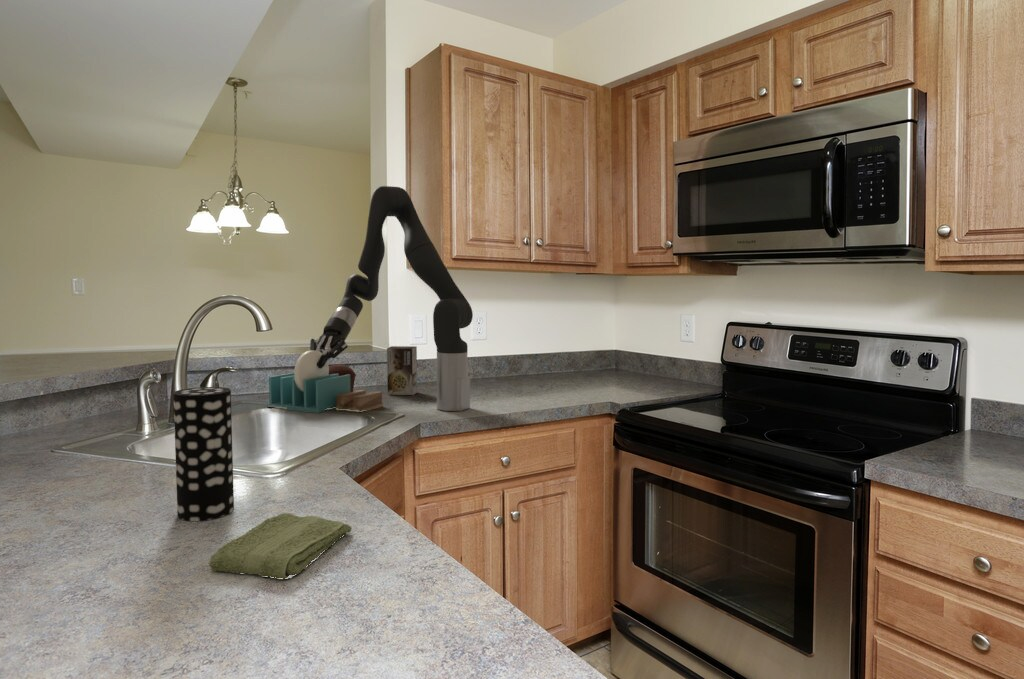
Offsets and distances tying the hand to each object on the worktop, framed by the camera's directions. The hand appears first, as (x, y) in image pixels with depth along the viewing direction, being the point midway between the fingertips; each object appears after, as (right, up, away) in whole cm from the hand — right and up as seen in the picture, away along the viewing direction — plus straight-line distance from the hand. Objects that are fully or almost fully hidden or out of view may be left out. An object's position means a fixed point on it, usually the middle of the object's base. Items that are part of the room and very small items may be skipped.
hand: (315, 366), depth 194 cm
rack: (-2, -12, +2) cm, 12 cm away
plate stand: (+14, -13, -1) cm, 19 cm away
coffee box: (+22, -11, +25) cm, 35 cm away
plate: (-1, -2, -1) cm, 2 cm away
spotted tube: (+10, -20, -90) cm, 92 cm away
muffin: (+1, -11, +22) cm, 25 cm away
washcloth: (+28, -22, -104) cm, 110 cm away
